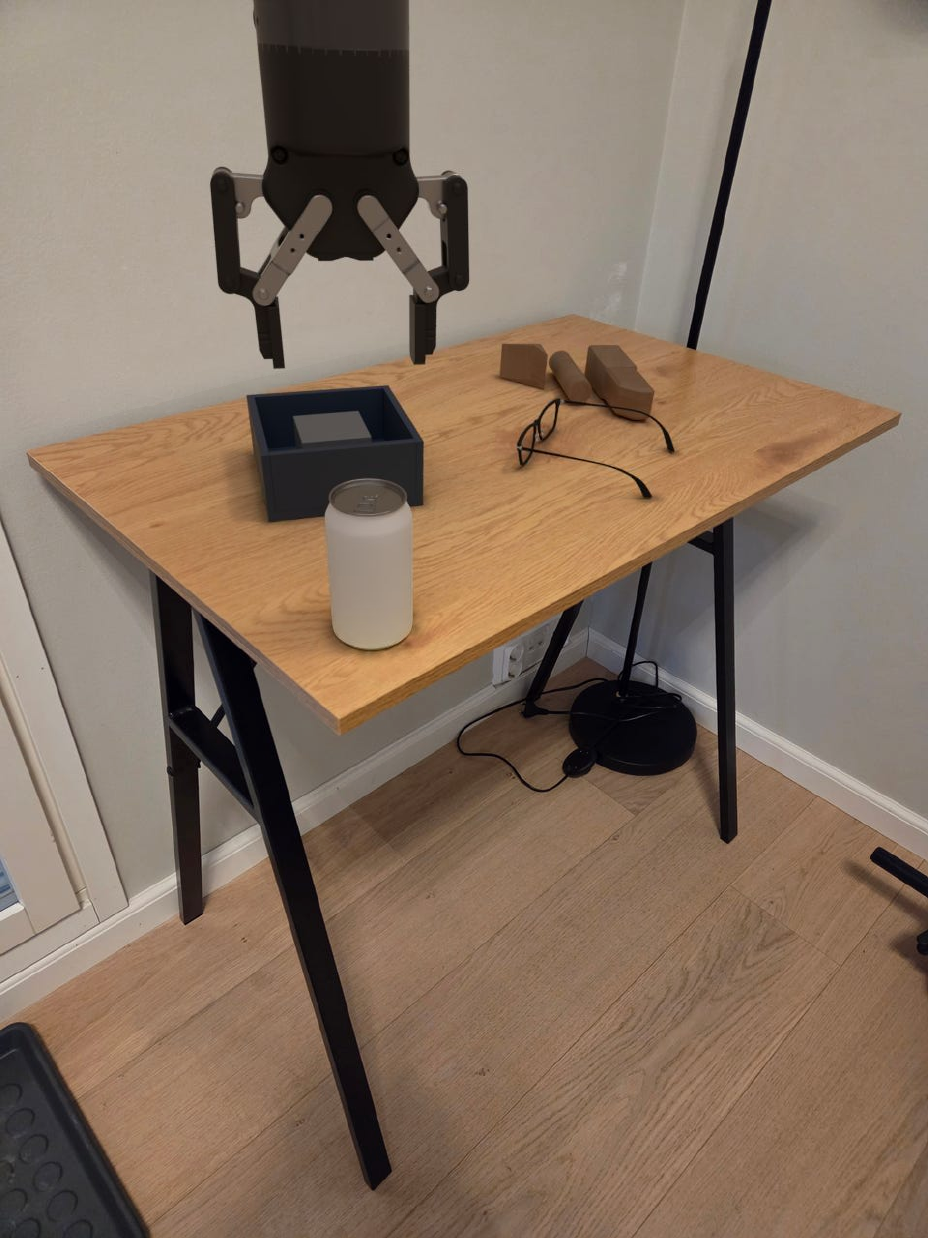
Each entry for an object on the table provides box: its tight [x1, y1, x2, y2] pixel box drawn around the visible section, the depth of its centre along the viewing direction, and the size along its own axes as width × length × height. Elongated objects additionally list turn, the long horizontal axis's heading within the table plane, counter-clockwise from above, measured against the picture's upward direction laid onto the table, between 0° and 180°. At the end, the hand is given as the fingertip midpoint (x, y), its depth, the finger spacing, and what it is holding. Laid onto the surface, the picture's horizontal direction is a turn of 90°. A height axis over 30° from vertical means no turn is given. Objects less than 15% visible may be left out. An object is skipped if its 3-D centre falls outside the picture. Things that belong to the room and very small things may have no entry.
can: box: [324, 478, 414, 651], centre depth 60 cm, size 6×6×12 cm
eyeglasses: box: [515, 397, 676, 499], centre depth 90 cm, size 16×16×4 cm
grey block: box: [293, 411, 372, 449], centre depth 83 cm, size 7×7×5 cm
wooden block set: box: [499, 343, 656, 421], centre depth 105 cm, size 17×6×18 cm
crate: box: [246, 384, 425, 523], centre depth 83 cm, size 16×16×7 cm
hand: (349, 362), depth 49 cm, fingers open, 8 cm apart
